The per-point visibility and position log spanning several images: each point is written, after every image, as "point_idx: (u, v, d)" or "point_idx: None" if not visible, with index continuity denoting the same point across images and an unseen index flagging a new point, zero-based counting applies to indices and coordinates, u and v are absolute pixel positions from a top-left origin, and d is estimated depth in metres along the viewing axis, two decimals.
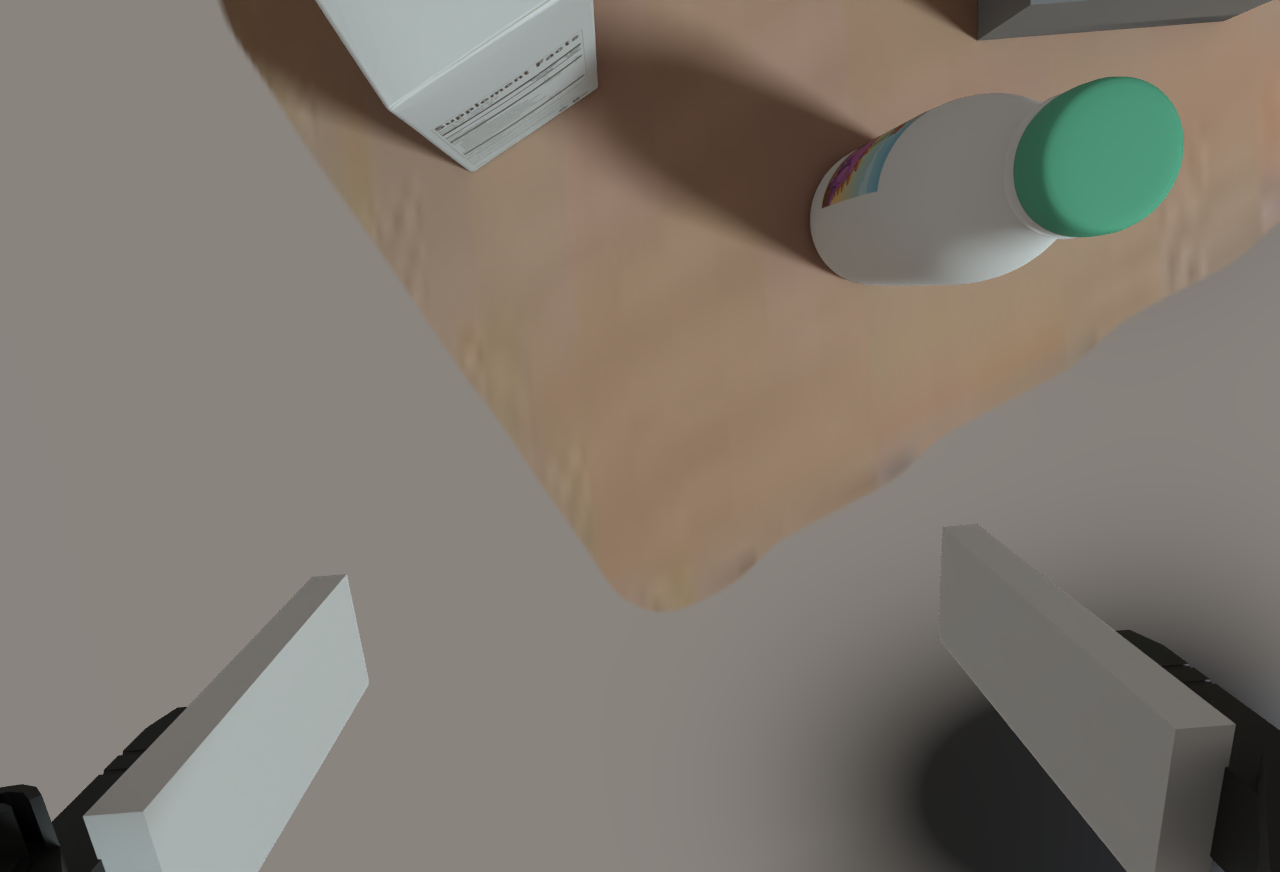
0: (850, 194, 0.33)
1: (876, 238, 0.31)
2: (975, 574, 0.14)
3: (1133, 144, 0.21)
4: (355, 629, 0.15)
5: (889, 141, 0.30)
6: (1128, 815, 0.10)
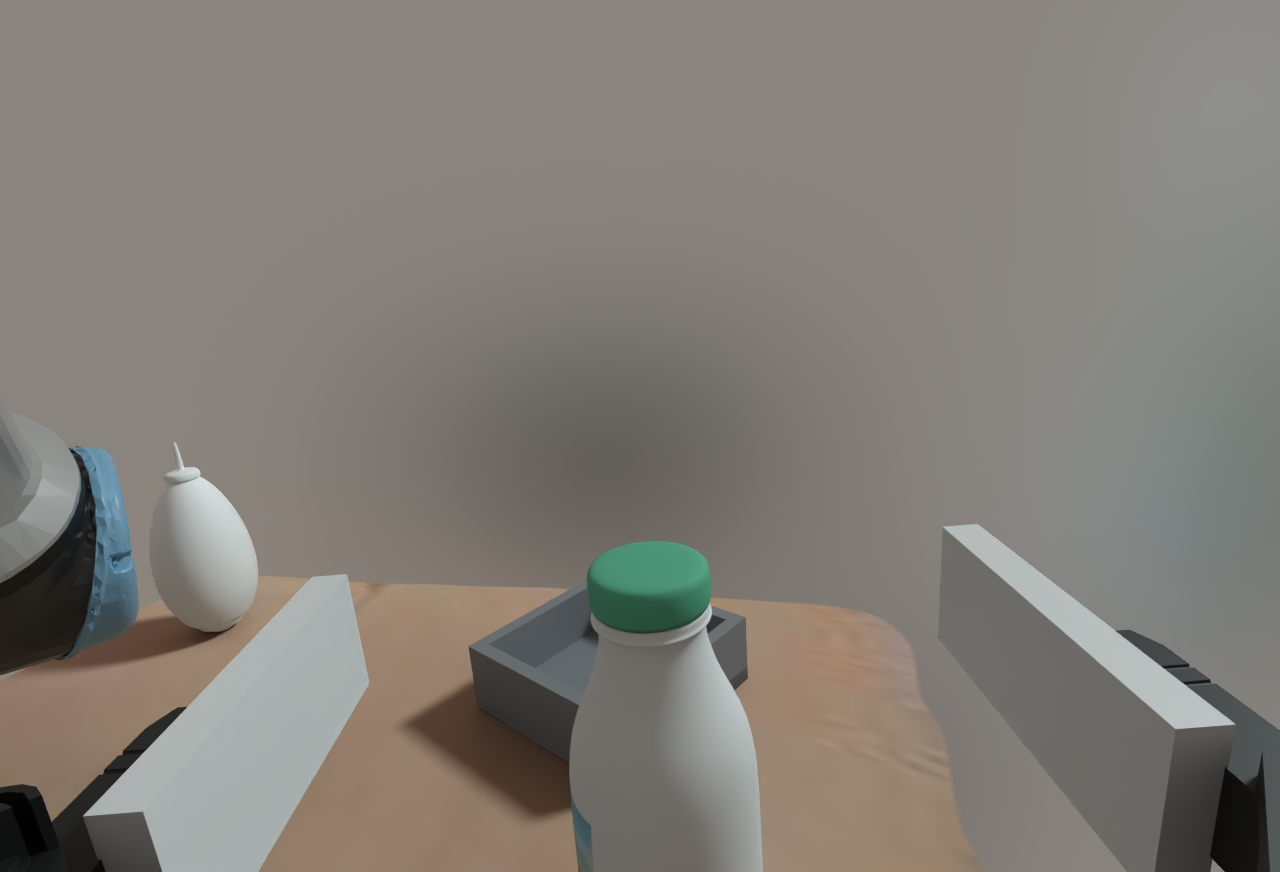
0: None
1: (636, 865, 0.25)
2: (976, 574, 0.13)
3: (652, 558, 0.26)
4: (355, 629, 0.15)
5: (571, 803, 0.28)
6: (1128, 815, 0.10)
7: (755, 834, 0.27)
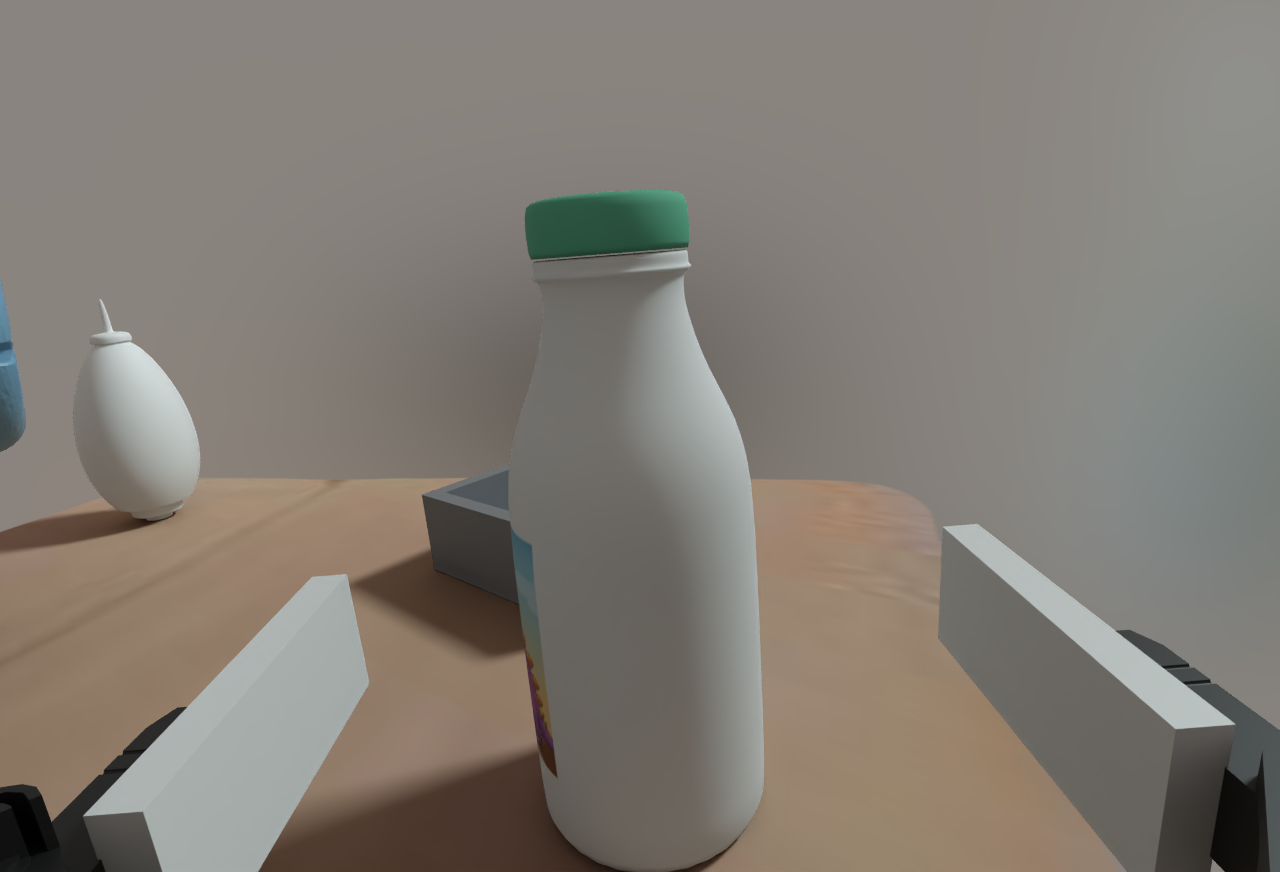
0: (538, 647, 0.20)
1: (590, 585, 0.18)
2: (975, 574, 0.14)
3: None
4: (355, 629, 0.15)
5: None
6: (1128, 815, 0.10)
7: (750, 571, 0.21)
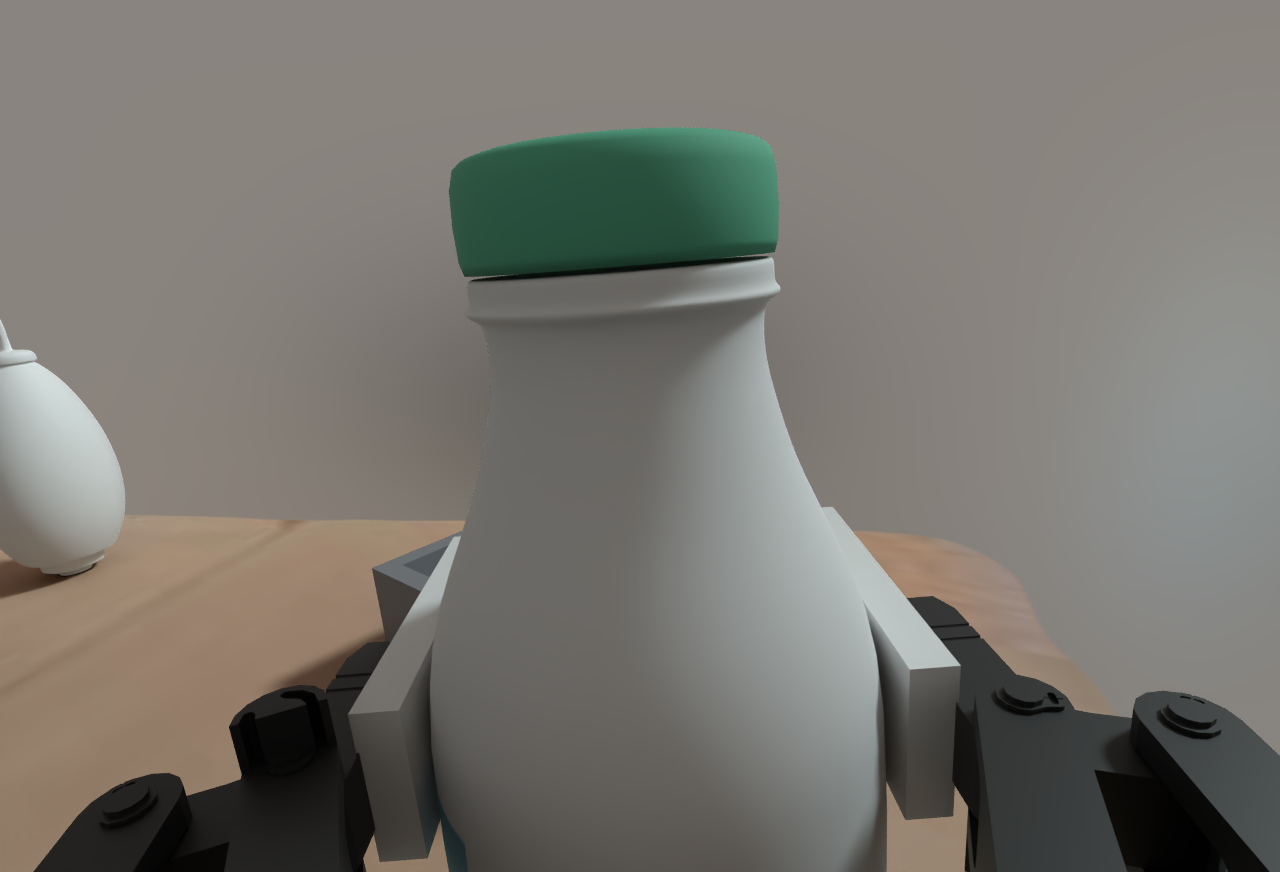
0: None
1: None
2: None
3: None
4: None
5: None
6: (893, 749, 0.11)
7: (884, 863, 0.11)
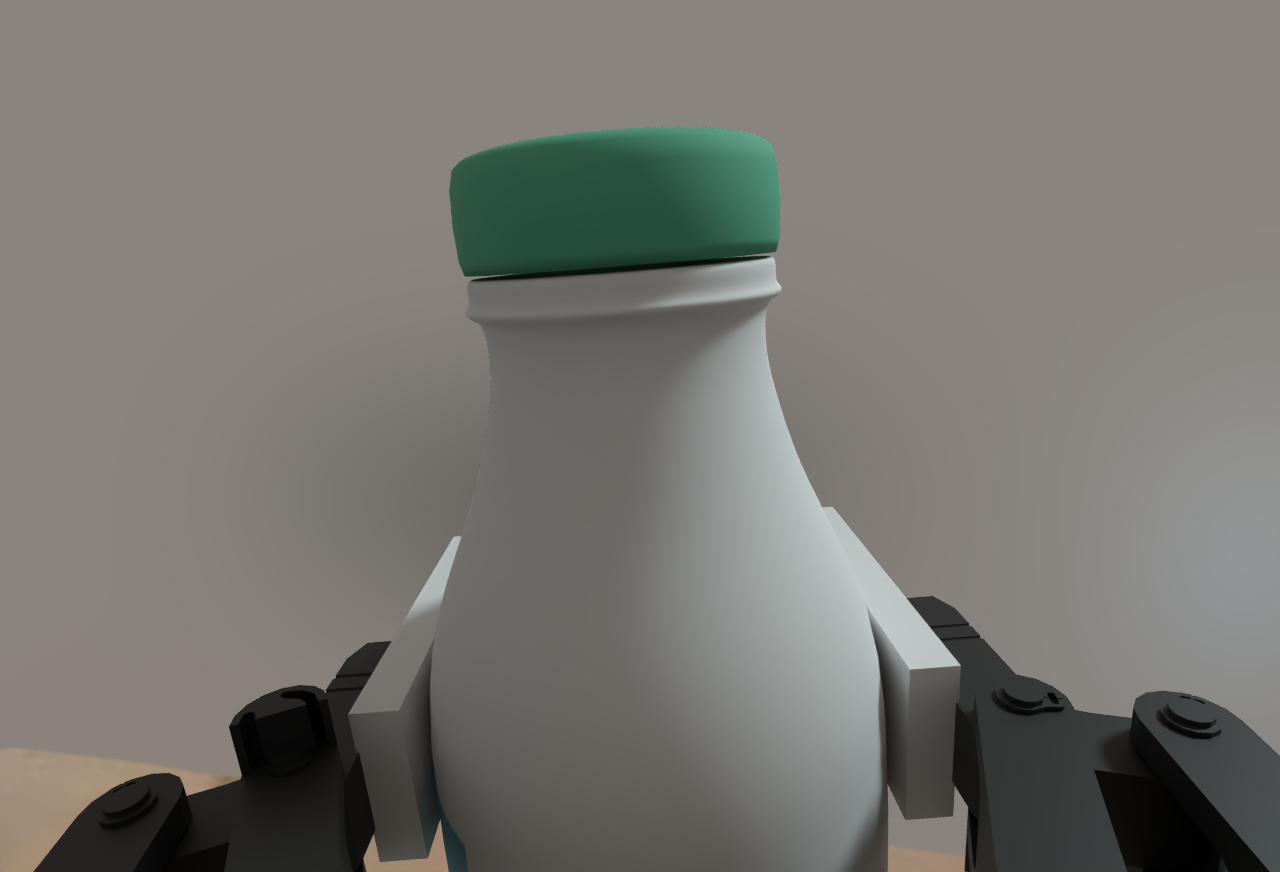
0: None
1: None
2: None
3: None
4: None
5: None
6: (892, 749, 0.11)
7: (885, 864, 0.11)
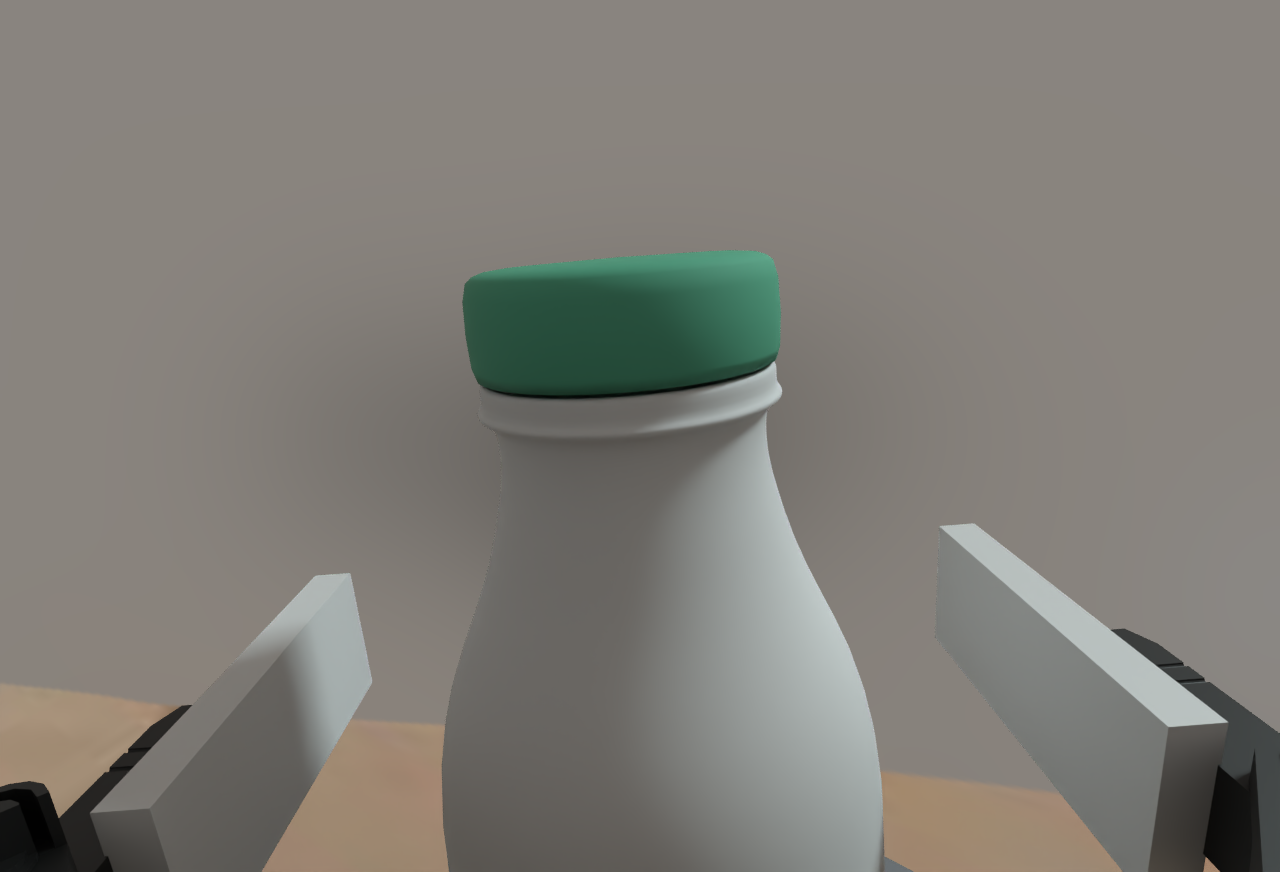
0: None
1: None
2: (972, 573, 0.14)
3: None
4: (358, 628, 0.15)
5: None
6: (1122, 813, 0.10)
7: None
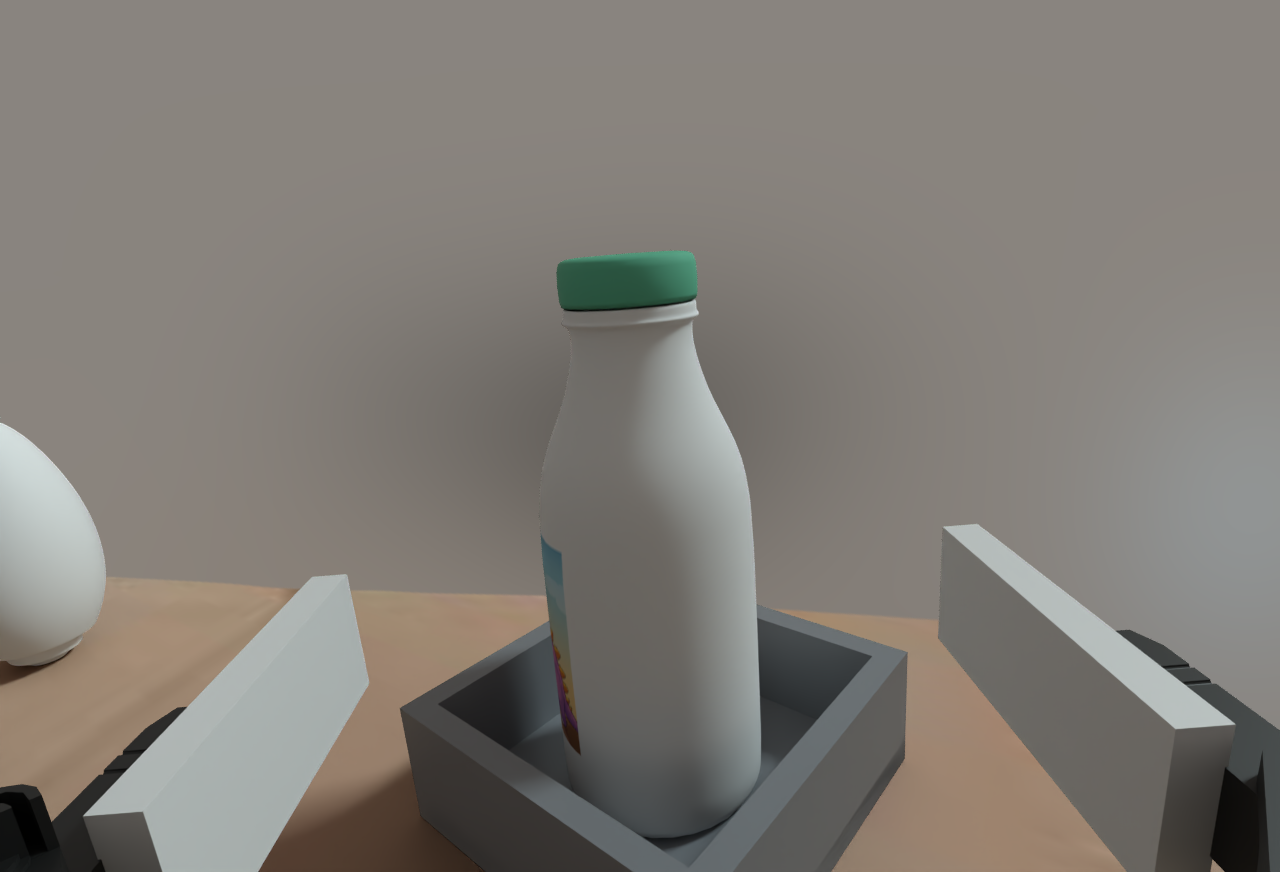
0: (565, 641, 0.24)
1: (612, 587, 0.22)
2: (975, 574, 0.14)
3: None
4: (355, 629, 0.15)
5: None
6: (1128, 815, 0.10)
7: (749, 576, 0.24)
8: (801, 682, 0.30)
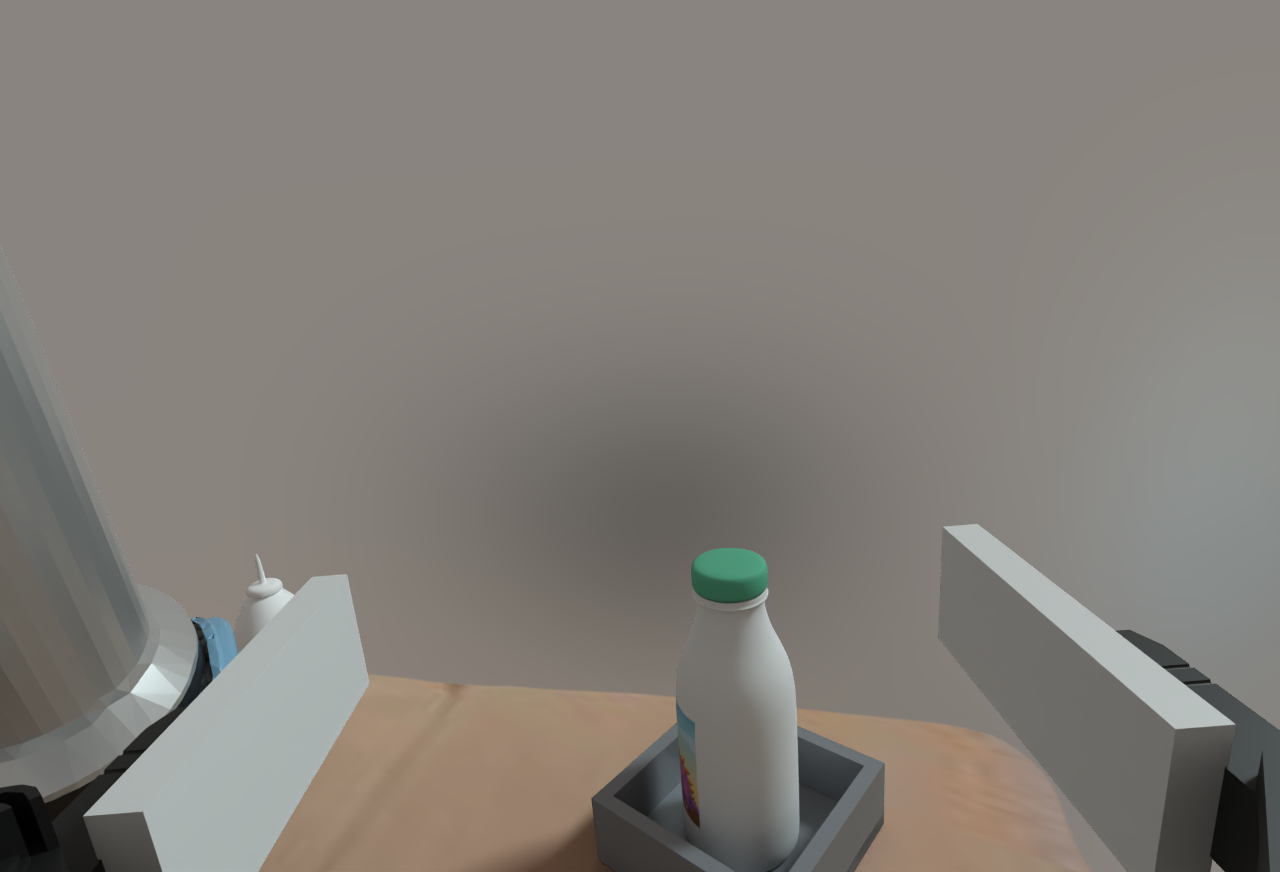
0: (694, 767, 0.43)
1: (724, 744, 0.41)
2: (975, 574, 0.14)
3: (730, 558, 0.42)
4: (355, 629, 0.15)
5: (677, 714, 0.44)
6: (1128, 815, 0.10)
7: (794, 730, 0.43)
8: (821, 775, 0.49)
